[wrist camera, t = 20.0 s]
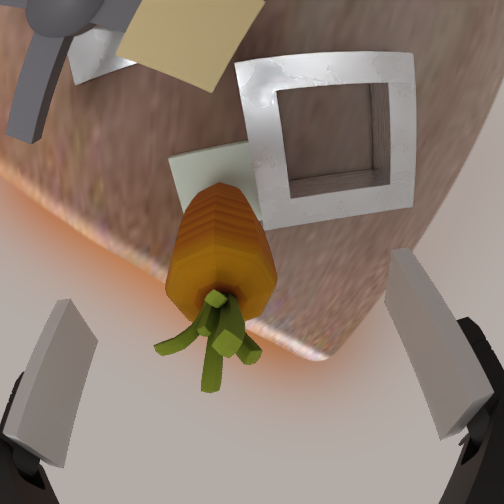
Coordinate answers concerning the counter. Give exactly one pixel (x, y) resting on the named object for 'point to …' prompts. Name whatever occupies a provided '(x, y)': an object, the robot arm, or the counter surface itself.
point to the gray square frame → (343, 184)
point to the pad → (215, 172)
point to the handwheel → (126, 44)
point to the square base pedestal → (96, 54)
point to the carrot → (219, 278)
